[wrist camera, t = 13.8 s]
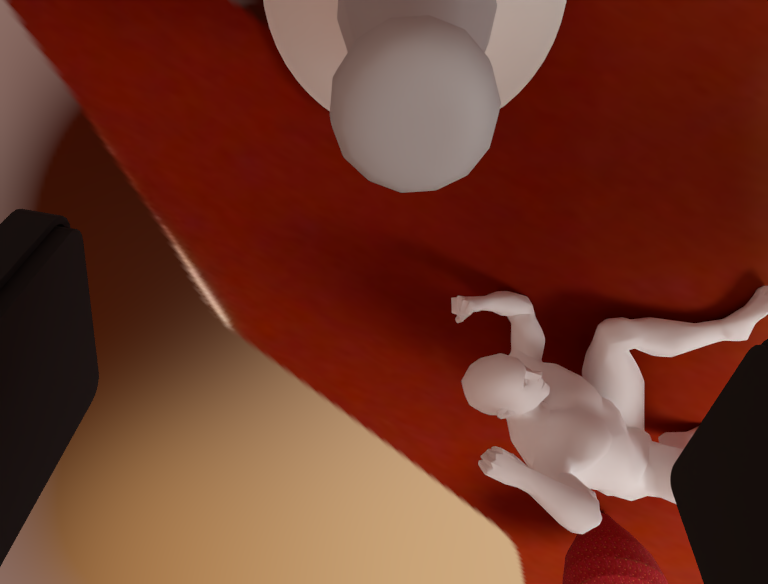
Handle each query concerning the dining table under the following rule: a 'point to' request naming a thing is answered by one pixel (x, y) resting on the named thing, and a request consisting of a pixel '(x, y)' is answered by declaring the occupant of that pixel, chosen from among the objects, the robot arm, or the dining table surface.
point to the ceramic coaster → (327, 50)
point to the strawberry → (610, 558)
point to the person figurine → (584, 406)
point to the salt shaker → (415, 90)
